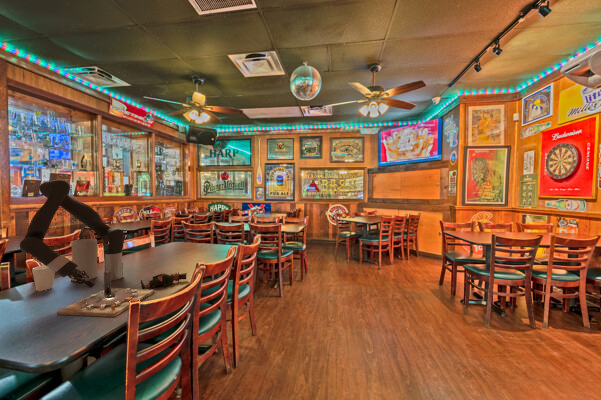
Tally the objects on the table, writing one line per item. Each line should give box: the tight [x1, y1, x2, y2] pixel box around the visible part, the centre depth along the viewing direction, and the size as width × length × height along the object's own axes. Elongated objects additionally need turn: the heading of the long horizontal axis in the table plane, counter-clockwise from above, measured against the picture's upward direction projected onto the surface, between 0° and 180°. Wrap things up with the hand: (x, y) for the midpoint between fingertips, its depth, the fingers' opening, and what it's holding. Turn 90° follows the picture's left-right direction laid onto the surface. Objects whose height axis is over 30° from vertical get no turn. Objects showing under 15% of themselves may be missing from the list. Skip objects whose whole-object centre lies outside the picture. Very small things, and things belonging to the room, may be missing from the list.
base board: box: [56, 287, 155, 318], centre depth 126 cm, size 28×28×3 cm
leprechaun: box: [140, 272, 188, 289], centre depth 152 cm, size 11×10×25 cm
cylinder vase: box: [71, 238, 98, 280], centre depth 160 cm, size 12×12×25 cm
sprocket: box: [80, 271, 138, 310], centre depth 126 cm, size 24×24×12 cm
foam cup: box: [31, 264, 56, 292], centre depth 142 cm, size 10×9×13 cm
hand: (93, 285), depth 130 cm, fingers closed
